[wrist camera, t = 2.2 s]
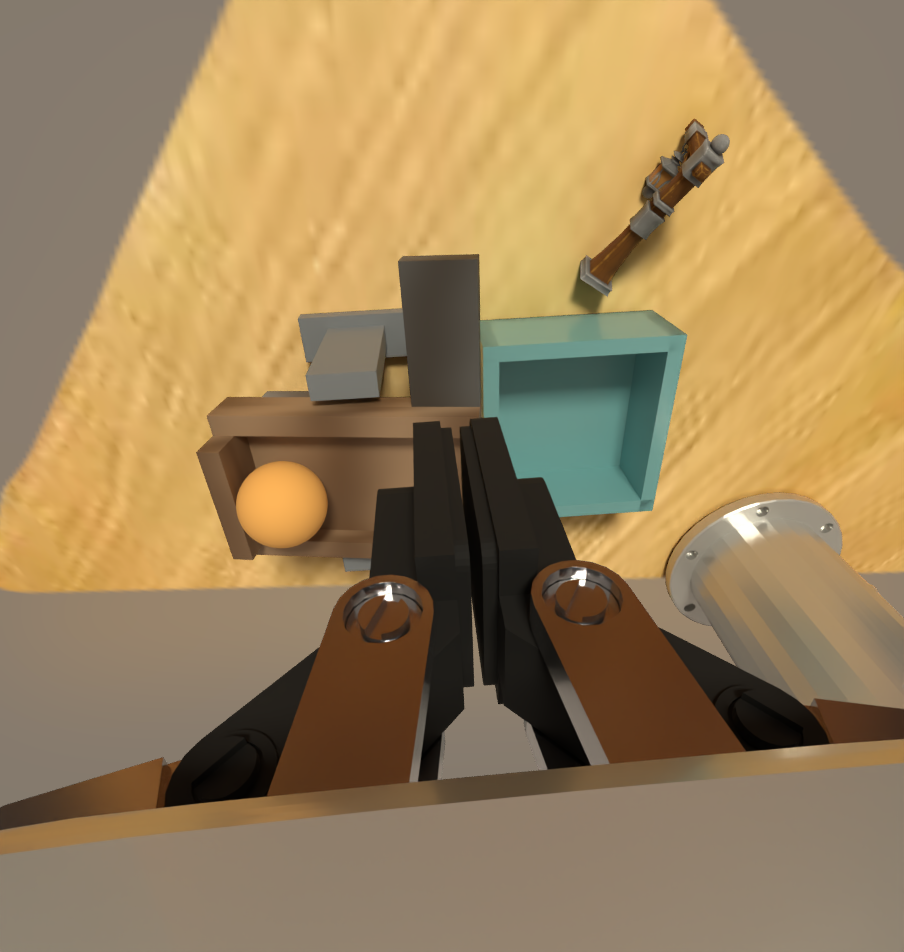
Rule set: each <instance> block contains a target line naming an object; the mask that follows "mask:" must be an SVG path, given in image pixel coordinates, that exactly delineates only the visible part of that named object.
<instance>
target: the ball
mask: <svg viewBox="0 0 904 952" xmlns="http://www.w3.org/2000/svg"><path fill="white" fill-rule="evenodd" d="M327 508H328V500H327V494H326V491H325V488H324V486H323V484H322V482H321V481H320V479H319V478H318V477H317V476H316V475H315V474H314V473H313V472H312V471H311V470H310V469H308V468H307V467H305V466H303V465H301V464H298V463H294V462H289V461H276V462H271V463H267V464H265V465H262V466H260V467H259V468H257V469H255V470H254V471H253V472H252V473H250V474H249V475H248V476H247V478H246V479H245V480H244V481H243V483H242V485H241V487H240V489H239V491H238V495H237V499H236V511H237V516H238V520H239V522H240V524H241V526H242V528H243V529H244V530H245V532H246V533H247V534H248V535H249V536H250V537H251V538H252V539H254V540H255V541H257V542H258V543H260V544H262V545H265V546H268V547H272V548H290V547H294V546H297V545H300V544H302V543H304V542H306V541H307V540H309V539H310V538H311V537H313V536H314V535H315V534H316V533H317V531H318V530H319V529H320V528H321V526H322V524H323V522H324V520H325V517H326V514H327Z"/></svg>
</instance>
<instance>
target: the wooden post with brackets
mask: <svg viewBox="0 0 904 952" xmlns="http://www.w3.org/2000/svg"><path fill="white" fill-rule="evenodd" d="M685 131H686V132H685V134H686V135H685V136H684V138H685V143H684V145H683V147H682V151H681V152H678V151H674V154H675V157H674V156H672V159H669V158H665V157H663V156H661V157H660V159H661V164H660V165H659V166H658V167H657V168H656V169H655V170H654V171H653V172H652V173H651V174H650V175H649V176H648V177H646V184H647V185H646V186H645V187H644V189H643V191H642V194H643V196H644V197H645V198H651V197H653V200H652V201H651V202H650V201H649V200H647V201H646V203H645V204H644V206H643V207H642V208H641V209H640V210H639V211H638V213H637V214H636V215H635V216H633V217H632V218H631V219H630V225H629V226H628V227H627V228H626V229H625V230H624V231H623V232H622V233H621V234H620V235H619V236H618V237H617V238H616V239H615V240H614V241H613V242H612V243H610V244H609V245H608V246H607V247H606V248H605V249H604V250H603V251H602V252H601V253H599V254H598V255H597V256H596V257H594V258H593V259H591V258H590V257H588V256H587V255H586V257H585V258H584V259H583V260H582V261H581V278H580V279H581V280H583V281H585V282H586V283H588V284H589V285H591V286H592V287H594V288H595V289H597V290H598V291H600V292H601V293H603V294H604V295H606V296H607V297H608V294H609V292H610V291H612V280H611V279H612V278H613V276H614V274H615V273H616V271H617V270H618V269H619V267H620V266H621V265H622V263H623V262H624V261H625V259H626V258H627V257H628V255H629V254H630V253H631V251H632V250H633V249H634V248H635V247H636V245H637V244H638V243H639V242H640V241H641V240H642V239H645V240H646V239H647V238H648V236H649V235H650V234H651V233H652V232H653V231H654V230H655V229H656V228H657V227H658V226H659V225H660V224H662V223H663V222H665V220H664V217H665V215H666V214H667V215H668V216H669V217H670V215H671V214H672V213H673V212H674V208H673V207H674V206H675V205H676V204H677V203H678V202H679V201H680V200H681V199H682V198H683V197H684V196H685V195H686V194H687V193H688V192H689V191H690V190H691V189H692V188H693V187H694V186H696V187H698V188H699V186H700V185H701V184H702V183H703V182H704V181H705V179H706V178H707V177H708V176H709V175H710V174H711V173H712V172H713V171H714V170H715V169H716V168H717V167H719V166H720V165H722V164H723V163H724V160H723V156H722V153H724V152H725V151H726V150H727V148H728V146H729V143H730V140H729V138H728V136H727V135H724V134H720V135H718V136H716V137H715V138H714V139H713V140H712V142H710V141H709V140H708V135H707V132H706V131H705V129H704V126H703V125H701V124H700V123H699V122H698V121H697V120H696V119H693V120H692V121H691V123H690V124H689V125H688V126H687V127H686V128H685ZM686 144H687V145H688V146H689V147H688V151H687V149H686V148H684V147H685V145H686ZM682 152H684V153H683V154H682ZM685 153H687V154H686V156H685V159H684V155H685ZM679 161H680V162H681V163H682V164H681V167H680V169H679V171H678V166H680V164H679Z"/></svg>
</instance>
